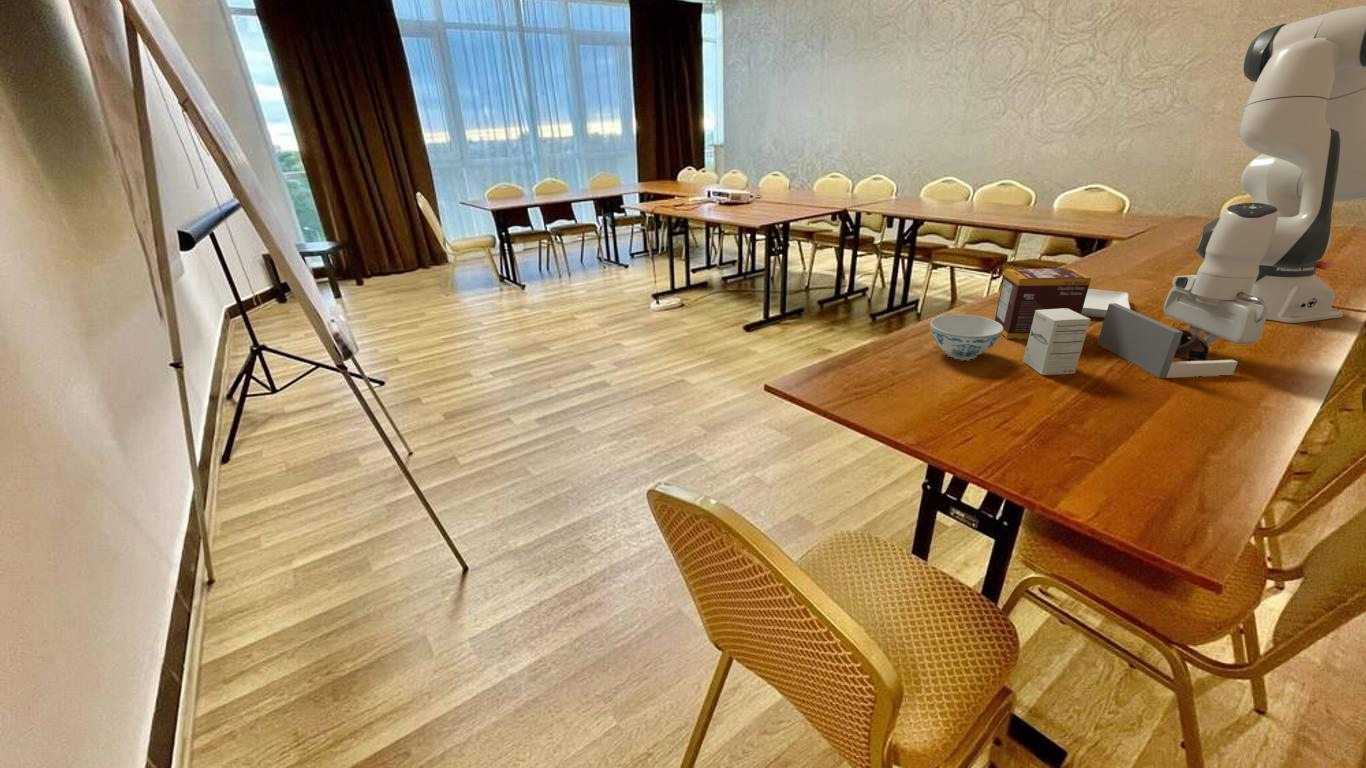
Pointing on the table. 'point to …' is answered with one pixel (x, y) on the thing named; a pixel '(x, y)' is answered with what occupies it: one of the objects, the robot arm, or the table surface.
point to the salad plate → (1103, 302)
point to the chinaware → (965, 335)
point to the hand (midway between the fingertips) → (1197, 348)
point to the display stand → (1153, 345)
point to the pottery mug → (1191, 346)
